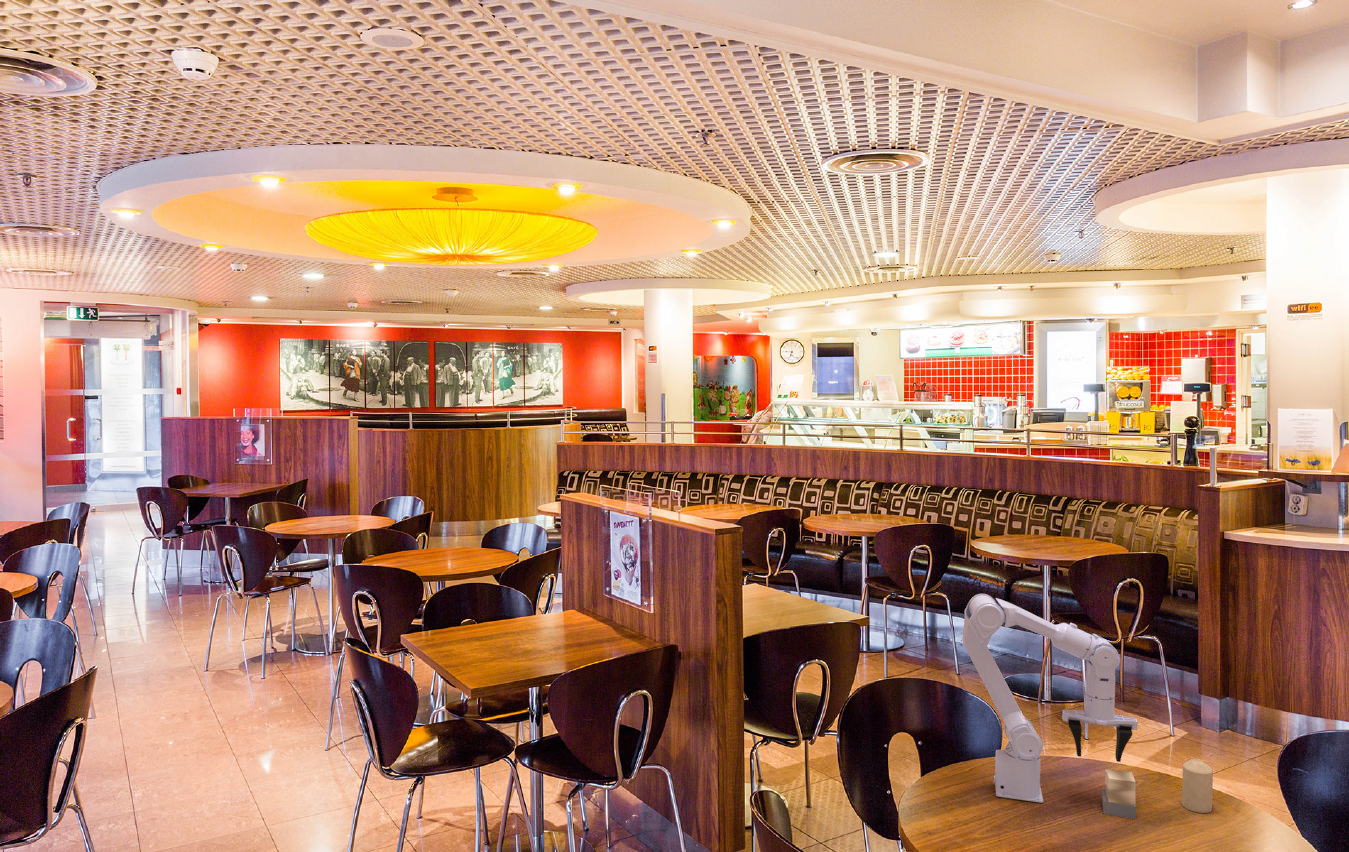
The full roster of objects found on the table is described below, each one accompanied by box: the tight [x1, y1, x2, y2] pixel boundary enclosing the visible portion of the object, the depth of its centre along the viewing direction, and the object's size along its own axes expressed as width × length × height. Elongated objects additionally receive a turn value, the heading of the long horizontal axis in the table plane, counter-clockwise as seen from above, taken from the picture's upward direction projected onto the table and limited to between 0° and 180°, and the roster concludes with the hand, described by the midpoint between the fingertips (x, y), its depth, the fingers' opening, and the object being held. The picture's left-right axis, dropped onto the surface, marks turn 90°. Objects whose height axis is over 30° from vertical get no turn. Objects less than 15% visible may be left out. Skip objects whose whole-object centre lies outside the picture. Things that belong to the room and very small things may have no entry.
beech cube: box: [1104, 768, 1137, 806], centre depth 183 cm, size 5×5×5 cm
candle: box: [1181, 758, 1214, 814], centre depth 185 cm, size 6×6×10 cm
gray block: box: [1101, 789, 1137, 820], centre depth 184 cm, size 6×6×3 cm
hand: (1098, 757), depth 188 cm, fingers open, 7 cm apart
